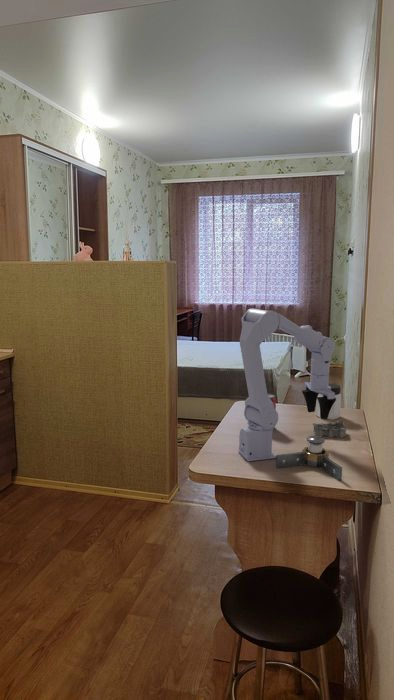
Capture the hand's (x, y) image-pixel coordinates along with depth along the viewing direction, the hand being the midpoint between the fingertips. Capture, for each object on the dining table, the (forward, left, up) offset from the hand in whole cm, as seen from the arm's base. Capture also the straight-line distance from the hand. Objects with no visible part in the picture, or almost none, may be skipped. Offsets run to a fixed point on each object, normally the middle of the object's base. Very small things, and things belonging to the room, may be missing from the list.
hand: (317, 415), depth 160 cm
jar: (+20, +24, -10) cm, 33 cm away
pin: (-9, -14, -9) cm, 19 cm away
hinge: (-13, -18, -9) cm, 25 cm away
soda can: (-9, +18, -10) cm, 22 cm away
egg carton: (+9, +7, -10) cm, 15 cm away
